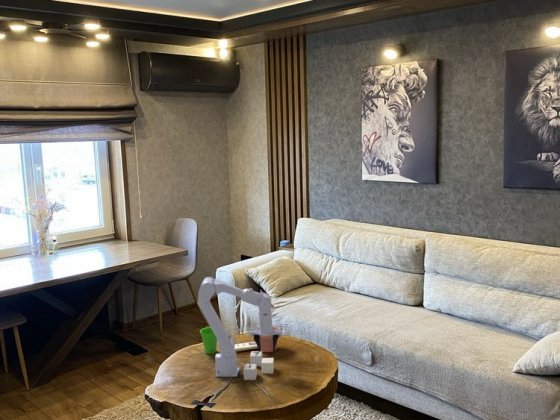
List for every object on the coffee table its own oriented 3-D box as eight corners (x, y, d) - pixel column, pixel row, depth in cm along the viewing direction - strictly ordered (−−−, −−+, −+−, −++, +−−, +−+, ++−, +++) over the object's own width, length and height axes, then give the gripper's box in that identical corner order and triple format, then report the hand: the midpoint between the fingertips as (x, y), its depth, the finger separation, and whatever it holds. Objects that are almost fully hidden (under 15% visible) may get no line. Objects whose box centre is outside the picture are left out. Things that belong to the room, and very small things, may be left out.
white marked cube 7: (250, 366, 258) (249, 355, 257) (251, 361, 263) (251, 351, 262) (261, 366, 257) (260, 355, 256) (262, 361, 262) (262, 351, 261)
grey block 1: (244, 380, 245) (243, 369, 244) (245, 374, 250) (245, 363, 249) (255, 380, 245) (254, 368, 244) (257, 374, 249) (256, 363, 249)
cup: (199, 349, 278) (198, 328, 276) (218, 346, 280) (216, 325, 278) (203, 357, 269) (201, 335, 267) (221, 353, 272) (220, 332, 270)
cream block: (261, 373, 250) (261, 362, 249) (263, 368, 255) (262, 358, 254) (273, 373, 250) (272, 362, 249) (274, 368, 255) (273, 357, 254)
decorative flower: (286, 353, 269) (284, 293, 263) (258, 358, 265) (255, 297, 260) (278, 341, 283) (275, 284, 278) (251, 345, 280) (248, 287, 274)
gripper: (247, 325, 245) (249, 354, 247) (281, 325, 244) (282, 354, 246) (250, 319, 252) (251, 348, 254) (282, 319, 251) (283, 347, 253)
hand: (267, 350), depth 251 cm, fingers open, 6 cm apart
